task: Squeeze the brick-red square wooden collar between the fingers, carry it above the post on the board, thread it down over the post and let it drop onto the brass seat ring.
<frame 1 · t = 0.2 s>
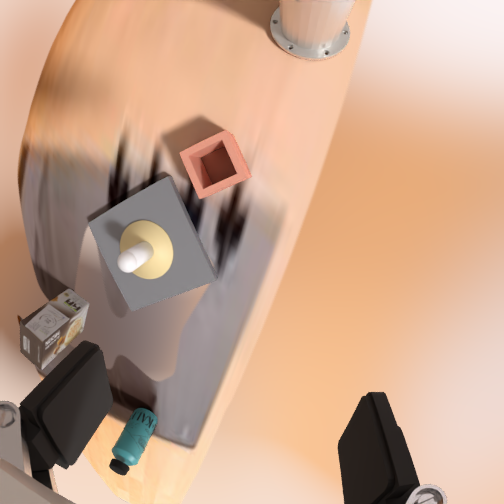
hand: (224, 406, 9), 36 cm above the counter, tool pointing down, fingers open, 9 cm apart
beverage bottle: (148, 411, 59), on the counter
post board: (149, 247, 47), on the counter
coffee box: (76, 310, 53), on the counter
collar: (221, 165, 42), on the counter
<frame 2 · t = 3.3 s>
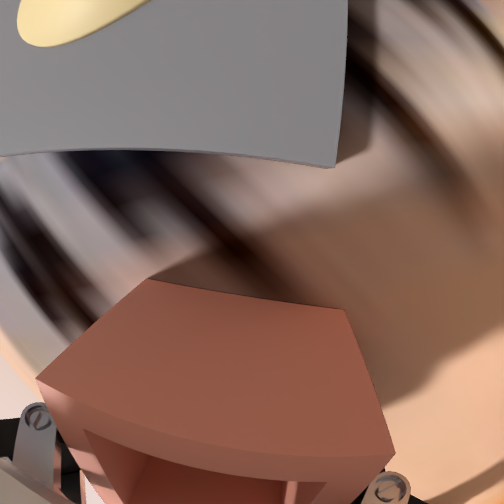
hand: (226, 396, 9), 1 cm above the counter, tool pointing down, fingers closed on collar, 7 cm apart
collar: (232, 374, 11), on the counter, touching gripper
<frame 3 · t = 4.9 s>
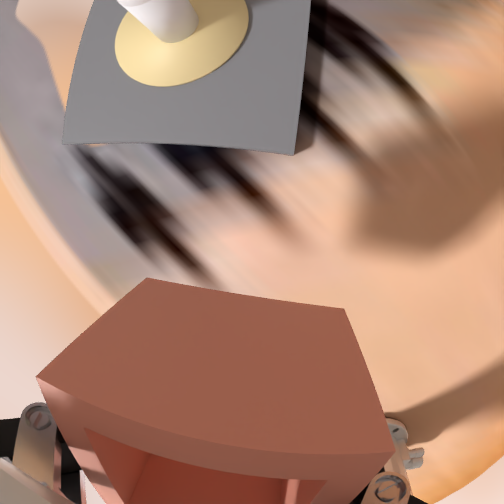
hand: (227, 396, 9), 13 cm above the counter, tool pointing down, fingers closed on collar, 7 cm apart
post board: (184, 34, 16), on the counter
collar: (233, 373, 11), point 11 cm above the counter, touching gripper
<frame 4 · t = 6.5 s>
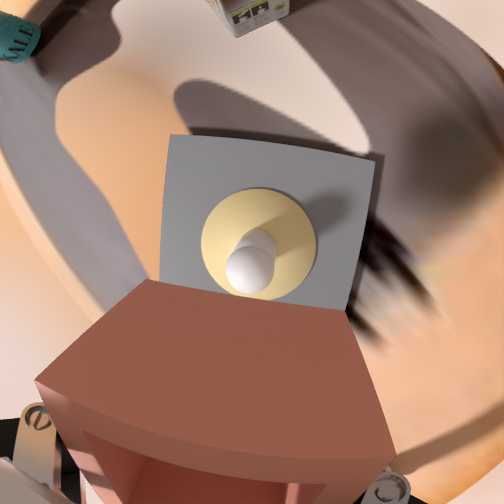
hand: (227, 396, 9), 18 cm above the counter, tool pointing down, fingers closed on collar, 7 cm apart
beverage bottle: (34, 46, 23), on the counter
post board: (259, 242, 27), on the counter
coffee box: (241, 0, 20), on the counter
collar: (232, 375, 11), point 17 cm above the counter, touching gripper
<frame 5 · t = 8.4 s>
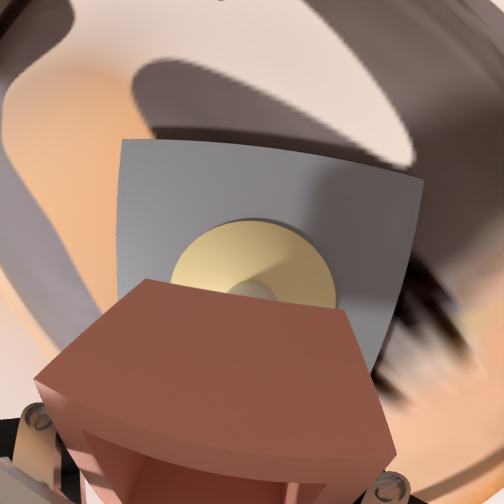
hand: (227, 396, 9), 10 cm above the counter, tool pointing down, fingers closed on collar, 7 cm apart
post board: (253, 294, 18), on the counter
collar: (232, 374, 11), point 8 cm above the counter, touching gripper
when the fingers open (5 cm above the counter, at t = 9.8 s): collar drops 2 cm, resting on post board.
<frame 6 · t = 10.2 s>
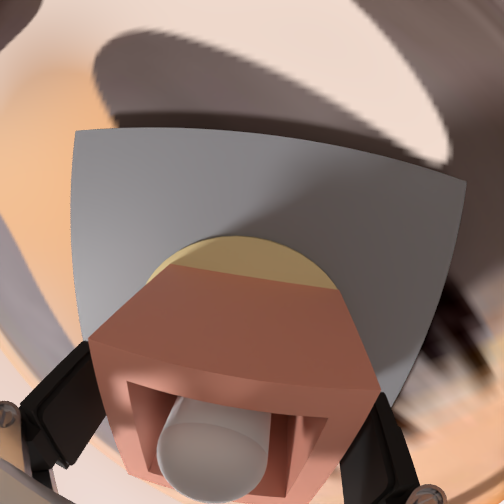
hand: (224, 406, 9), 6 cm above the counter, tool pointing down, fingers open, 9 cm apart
post board: (244, 327, 14), on the counter
collar: (243, 349, 12), point 2 cm above the counter, touching post board
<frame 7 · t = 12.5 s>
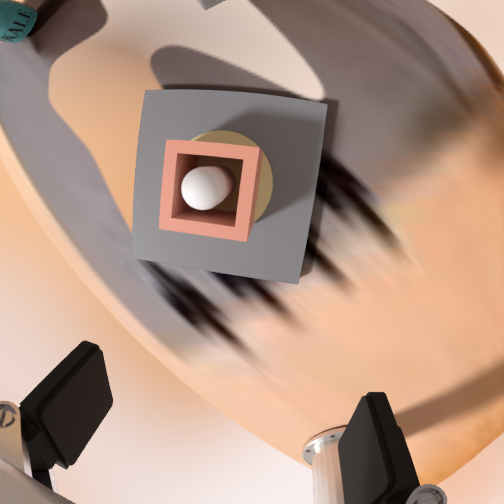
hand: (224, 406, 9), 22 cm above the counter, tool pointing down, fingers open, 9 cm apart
beverage bottle: (31, 28, 22), on the counter
post board: (222, 181, 28), on the counter
collar: (220, 183, 26), point 2 cm above the counter, touching post board
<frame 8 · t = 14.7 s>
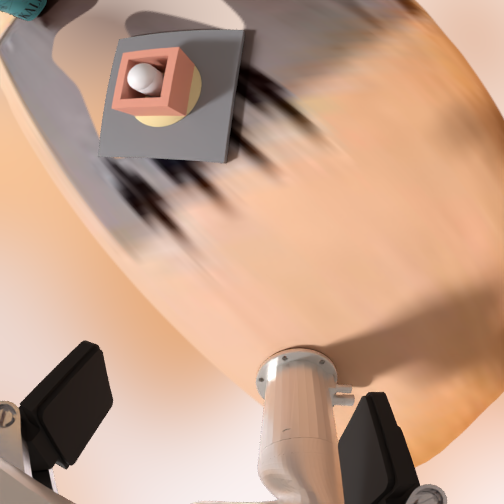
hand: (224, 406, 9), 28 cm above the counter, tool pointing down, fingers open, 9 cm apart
beverage bottle: (41, 11, 28), on the counter
post board: (168, 92, 32), on the counter
collar: (164, 89, 30), point 2 cm above the counter, touching post board
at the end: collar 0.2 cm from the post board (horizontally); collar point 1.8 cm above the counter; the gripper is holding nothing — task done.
